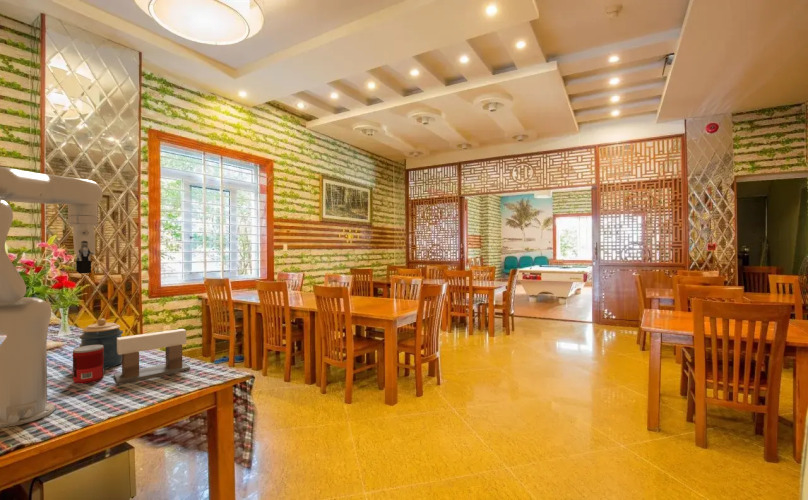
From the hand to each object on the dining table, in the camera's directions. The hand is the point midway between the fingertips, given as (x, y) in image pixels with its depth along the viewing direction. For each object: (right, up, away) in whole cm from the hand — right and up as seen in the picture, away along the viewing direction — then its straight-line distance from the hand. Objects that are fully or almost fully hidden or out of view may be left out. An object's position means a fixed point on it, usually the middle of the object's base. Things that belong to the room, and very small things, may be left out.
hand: (83, 272), depth 125 cm
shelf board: (+19, -27, +7) cm, 34 cm away
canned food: (+1, -37, 0) cm, 37 cm away
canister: (-7, -36, +16) cm, 40 cm away
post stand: (+18, -36, +7) cm, 41 cm away
